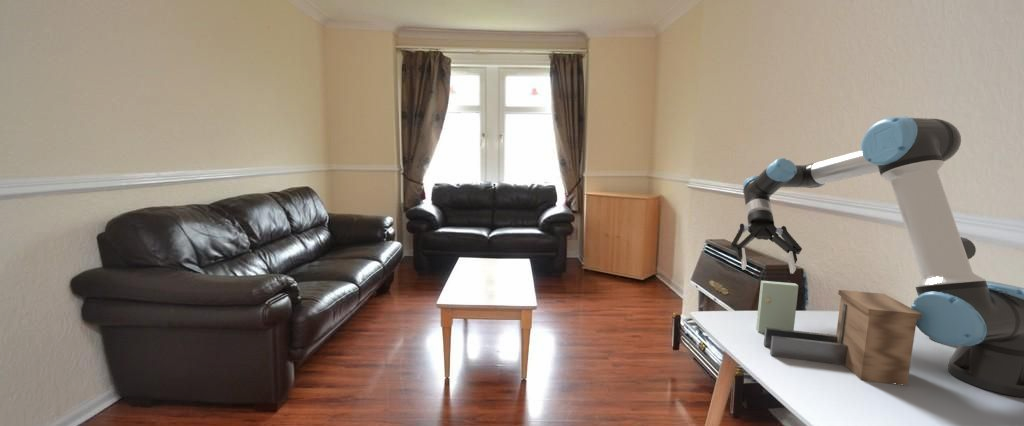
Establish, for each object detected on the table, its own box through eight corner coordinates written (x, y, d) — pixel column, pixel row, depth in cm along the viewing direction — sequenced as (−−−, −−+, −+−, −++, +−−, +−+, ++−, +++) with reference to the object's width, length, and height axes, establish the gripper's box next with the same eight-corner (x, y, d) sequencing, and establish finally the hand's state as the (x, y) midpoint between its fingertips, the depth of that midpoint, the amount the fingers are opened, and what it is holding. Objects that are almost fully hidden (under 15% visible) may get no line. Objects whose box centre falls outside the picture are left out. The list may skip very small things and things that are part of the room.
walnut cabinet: (875, 358, 113) (884, 293, 111) (910, 387, 99) (921, 314, 97) (830, 352, 116) (838, 289, 114) (859, 380, 102) (868, 308, 99)
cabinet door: (790, 333, 129) (795, 283, 127) (793, 337, 126) (799, 286, 124) (756, 329, 131) (760, 280, 129) (759, 333, 128) (764, 283, 126)
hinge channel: (833, 353, 116) (835, 334, 115) (845, 365, 109) (847, 345, 108) (763, 344, 120) (765, 327, 119) (771, 355, 113) (773, 337, 113)
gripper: (797, 224, 149) (809, 279, 136) (717, 219, 155) (722, 271, 143) (805, 210, 143) (818, 266, 130) (721, 206, 149) (727, 259, 137)
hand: (768, 269), depth 137 cm, fingers open, 13 cm apart
